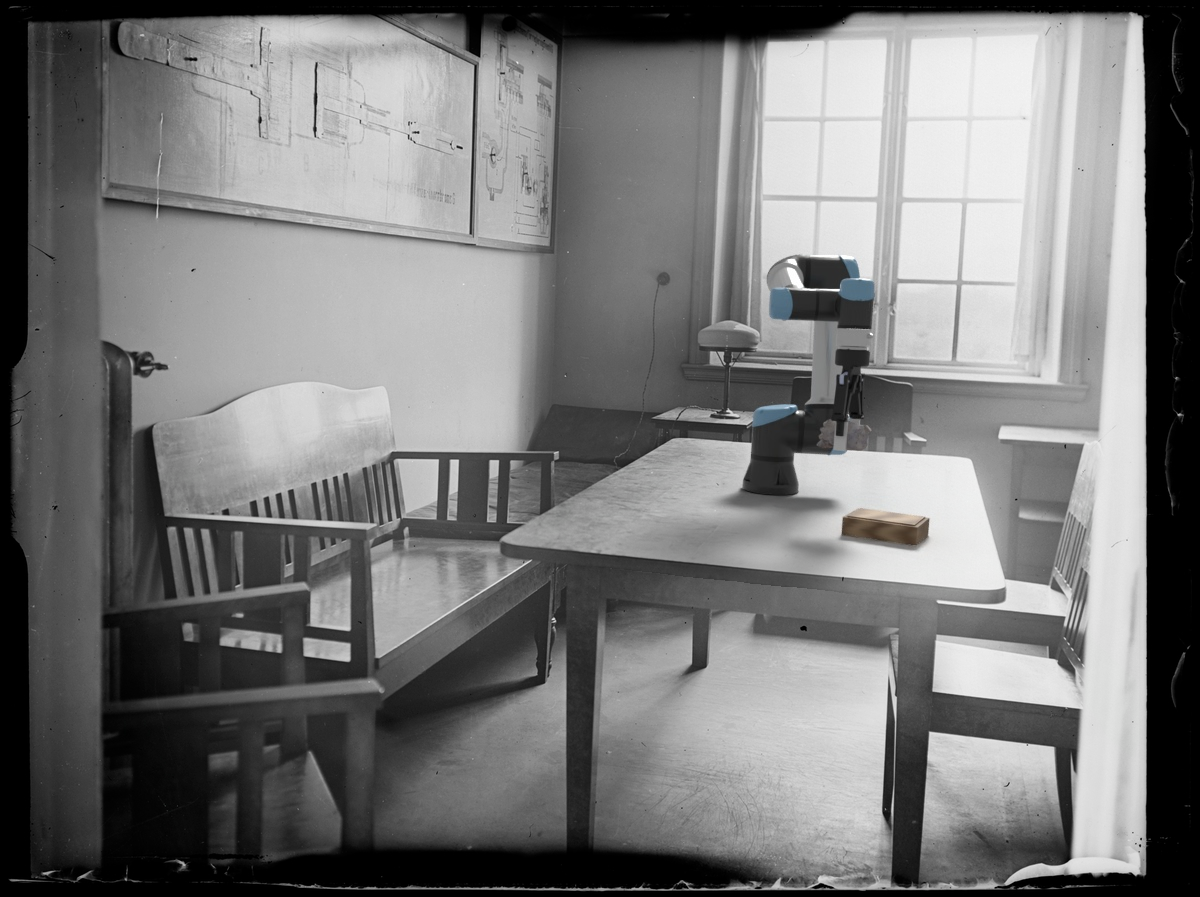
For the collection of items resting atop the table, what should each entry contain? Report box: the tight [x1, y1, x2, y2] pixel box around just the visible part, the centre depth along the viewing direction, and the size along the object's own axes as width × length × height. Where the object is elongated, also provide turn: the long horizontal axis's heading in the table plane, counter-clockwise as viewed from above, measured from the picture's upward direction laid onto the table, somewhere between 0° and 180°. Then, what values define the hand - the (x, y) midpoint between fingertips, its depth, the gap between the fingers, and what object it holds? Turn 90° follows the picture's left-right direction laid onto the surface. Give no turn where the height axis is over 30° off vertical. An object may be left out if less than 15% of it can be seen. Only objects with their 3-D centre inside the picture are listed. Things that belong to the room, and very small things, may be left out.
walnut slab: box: [841, 507, 931, 547], centre depth 212 cm, size 16×12×4 cm
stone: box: [817, 419, 873, 452], centre depth 218 cm, size 8×12×7 cm, turn 54°
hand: (846, 448), depth 218 cm, fingers closed on stone, 8 cm apart
